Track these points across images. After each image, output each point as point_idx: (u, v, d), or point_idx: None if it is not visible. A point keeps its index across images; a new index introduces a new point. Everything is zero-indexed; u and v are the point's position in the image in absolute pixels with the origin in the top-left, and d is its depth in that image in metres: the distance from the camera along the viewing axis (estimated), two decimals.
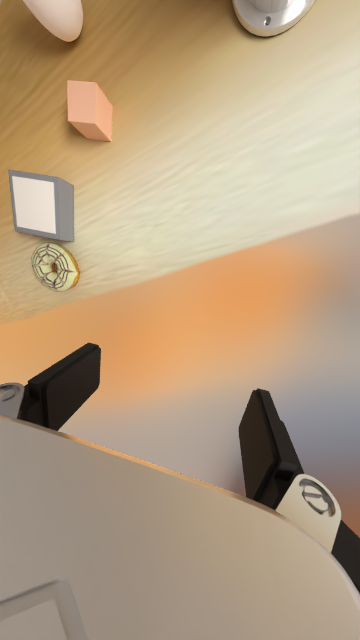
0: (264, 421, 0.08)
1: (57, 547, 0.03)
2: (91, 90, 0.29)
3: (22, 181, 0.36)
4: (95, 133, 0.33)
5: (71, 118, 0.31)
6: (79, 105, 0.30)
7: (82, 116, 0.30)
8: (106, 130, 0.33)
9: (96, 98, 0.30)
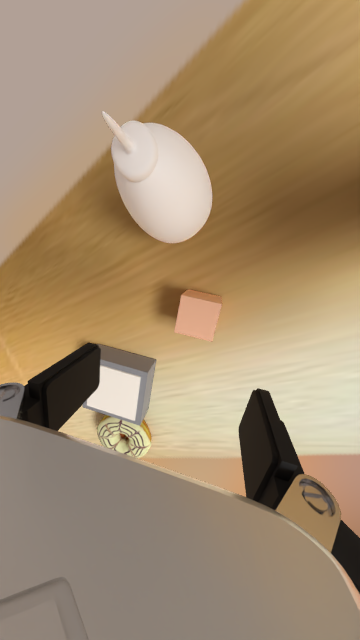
0: (264, 421, 0.08)
1: (57, 547, 0.03)
2: (213, 310, 0.22)
3: (100, 369, 0.30)
4: None
5: (180, 331, 0.24)
6: (193, 321, 0.23)
7: (196, 332, 0.24)
8: None
9: None
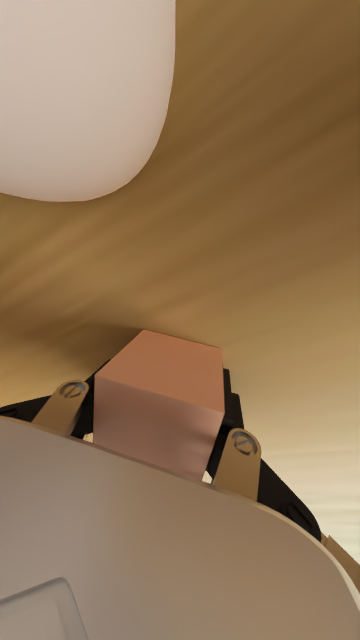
0: None
1: (57, 547, 0.03)
2: (197, 426, 0.07)
3: None
4: None
5: None
6: (139, 445, 0.08)
7: None
8: None
9: (212, 442, 0.07)
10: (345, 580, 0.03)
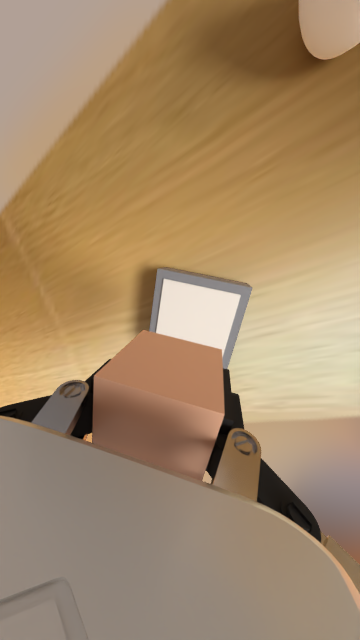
0: None
1: (57, 547, 0.03)
2: (197, 428, 0.07)
3: (181, 288, 0.22)
4: None
5: None
6: (139, 447, 0.08)
7: None
8: None
9: (212, 443, 0.07)
10: (345, 580, 0.03)
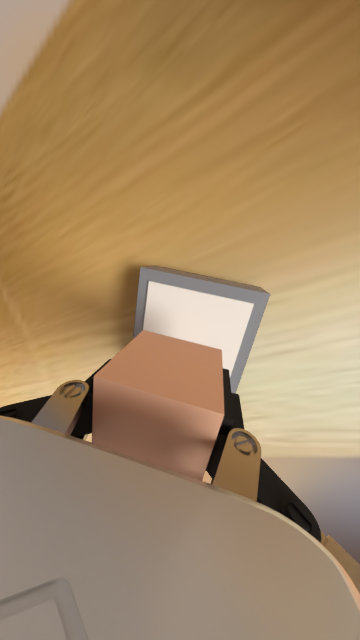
0: None
1: (57, 547, 0.03)
2: (197, 428, 0.07)
3: (173, 294, 0.16)
4: None
5: None
6: (138, 447, 0.08)
7: None
8: None
9: (212, 443, 0.07)
10: (345, 580, 0.03)
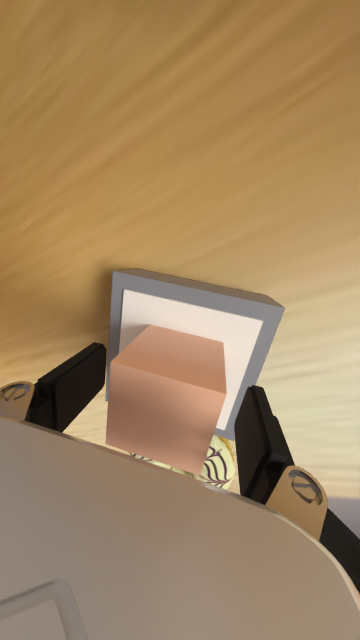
0: (257, 416, 0.08)
1: (57, 547, 0.03)
2: (202, 407, 0.08)
3: (155, 306, 0.12)
4: None
5: (118, 443, 0.09)
6: (149, 427, 0.09)
7: (158, 450, 0.09)
8: None
9: (216, 422, 0.08)
10: (345, 580, 0.03)
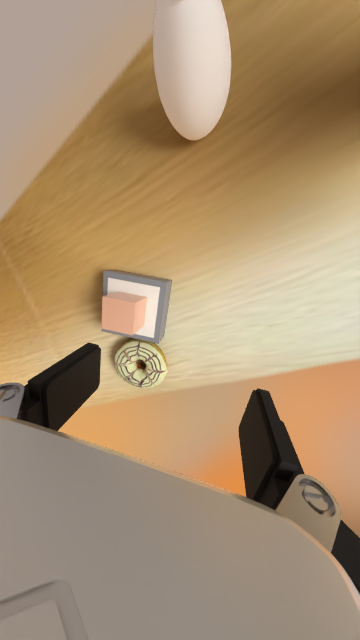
0: (264, 421, 0.08)
1: (57, 547, 0.03)
2: (129, 308, 0.27)
3: (120, 284, 0.31)
4: None
5: (105, 327, 0.28)
6: (115, 318, 0.27)
7: (118, 327, 0.28)
8: (140, 323, 0.31)
9: (134, 314, 0.27)
10: (345, 580, 0.03)
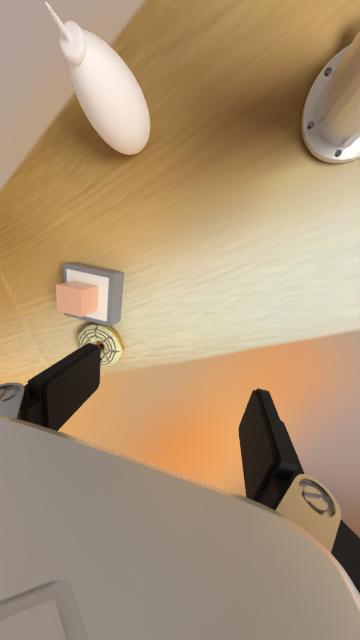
0: (264, 421, 0.08)
1: (57, 547, 0.03)
2: (77, 294, 0.32)
3: (76, 274, 0.37)
4: None
5: (60, 310, 0.34)
6: (67, 302, 0.33)
7: (70, 310, 0.34)
8: (92, 308, 0.36)
9: (82, 299, 0.33)
10: (345, 580, 0.03)
